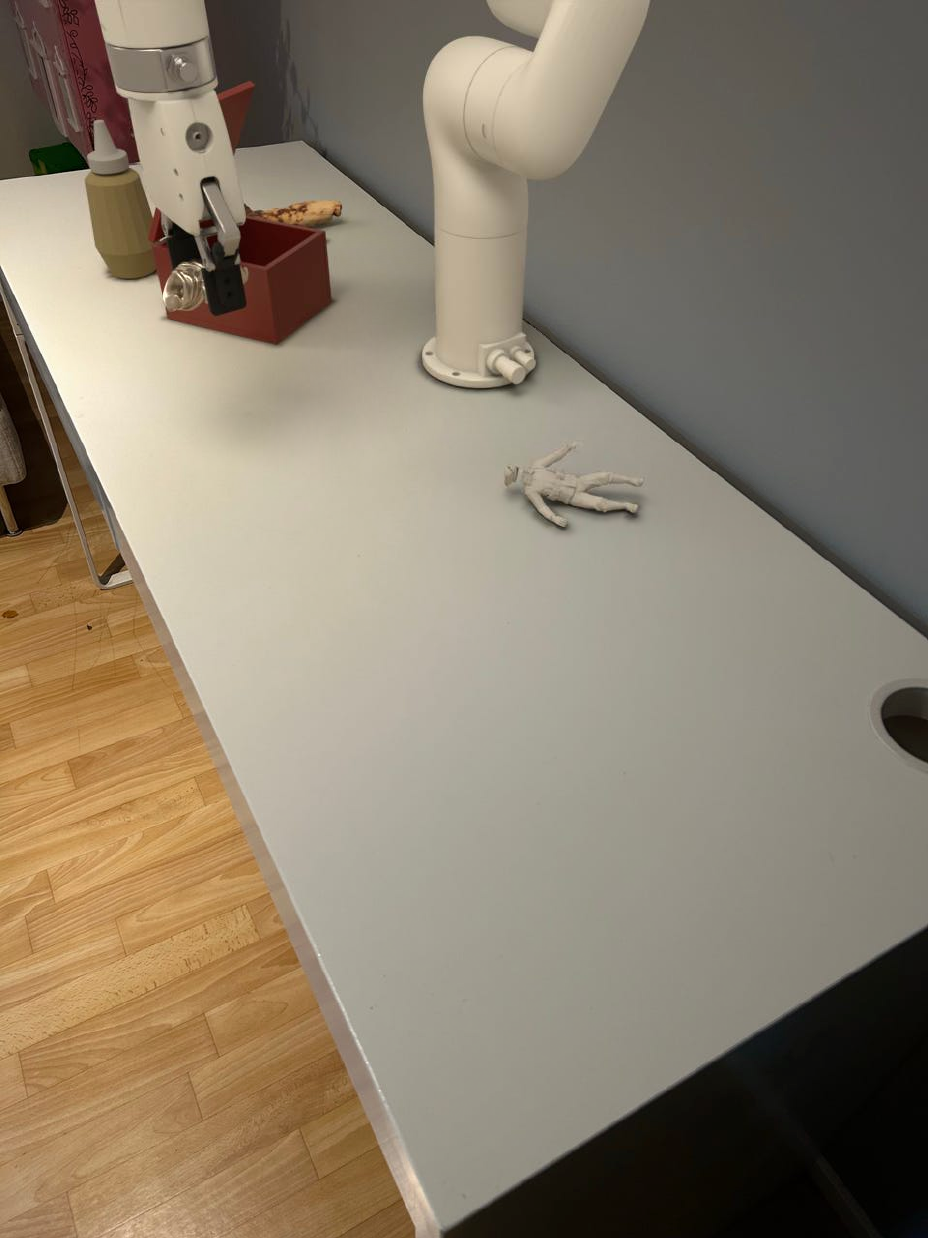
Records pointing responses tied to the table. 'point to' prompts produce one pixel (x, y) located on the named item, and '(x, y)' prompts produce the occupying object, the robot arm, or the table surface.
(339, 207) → the lashed bone hook
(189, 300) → the ornament
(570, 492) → the soldier figure
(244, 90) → the lid
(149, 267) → the squeeze bottle
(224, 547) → the table surface
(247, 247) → the box
